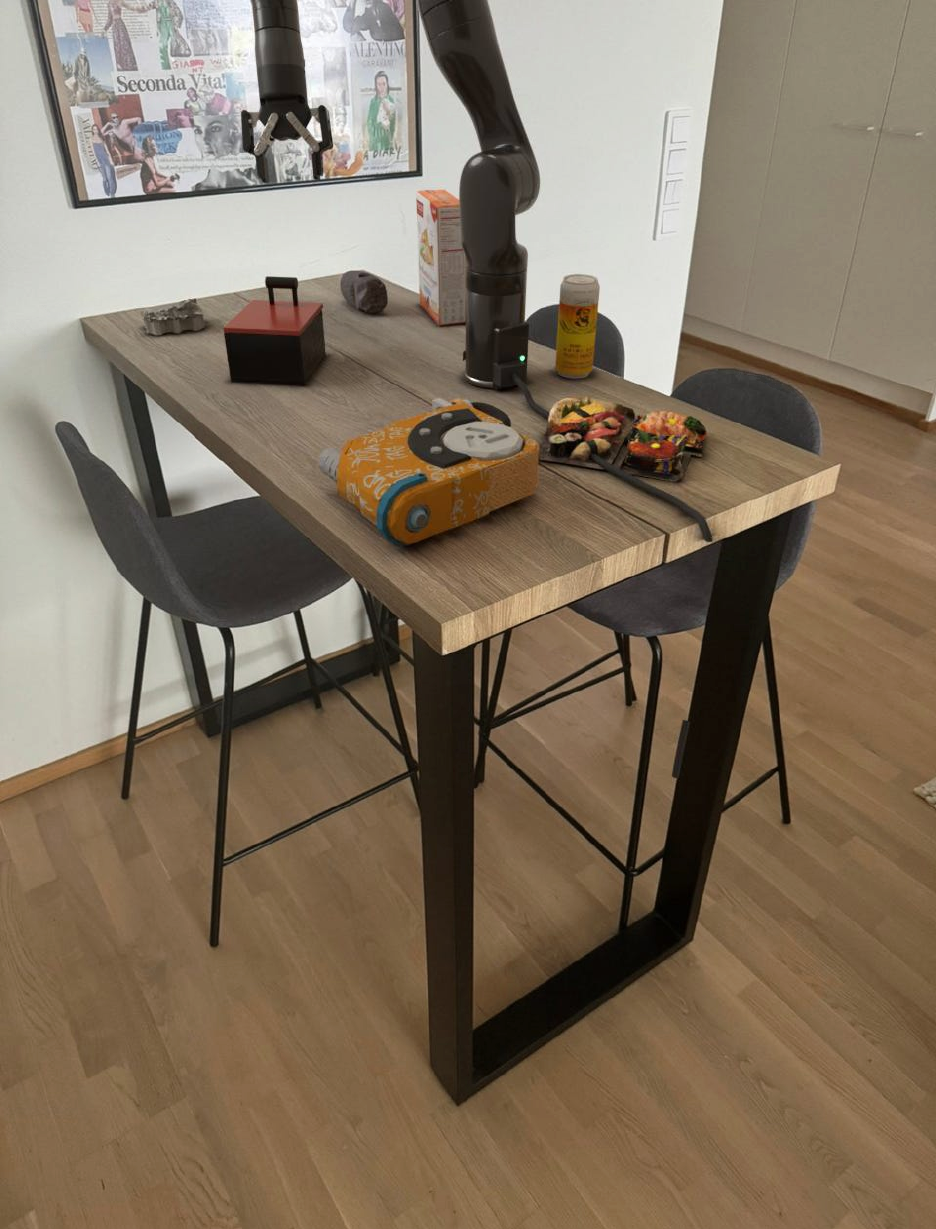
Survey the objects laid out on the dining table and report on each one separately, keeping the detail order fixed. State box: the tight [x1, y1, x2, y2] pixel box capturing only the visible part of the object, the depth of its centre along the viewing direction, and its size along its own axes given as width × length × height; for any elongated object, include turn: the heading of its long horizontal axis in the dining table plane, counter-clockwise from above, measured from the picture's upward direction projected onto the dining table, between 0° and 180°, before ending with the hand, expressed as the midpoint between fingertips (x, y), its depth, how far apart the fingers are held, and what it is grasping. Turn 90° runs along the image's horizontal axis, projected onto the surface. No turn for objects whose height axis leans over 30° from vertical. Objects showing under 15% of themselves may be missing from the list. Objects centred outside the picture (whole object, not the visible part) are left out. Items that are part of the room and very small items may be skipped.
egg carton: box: [140, 297, 206, 336], centre depth 163 cm, size 11×8×4 cm
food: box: [538, 395, 707, 483], centre depth 123 cm, size 22×19×4 cm
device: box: [317, 397, 540, 547], centre depth 111 cm, size 23×8×30 cm
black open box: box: [223, 308, 327, 386], centre depth 145 cm, size 14×12×8 cm
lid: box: [222, 275, 324, 336], centre depth 142 cm, size 15×12×5 cm
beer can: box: [554, 273, 601, 379], centre depth 142 cm, size 6×6×15 cm
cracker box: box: [415, 189, 466, 327], centre depth 166 cm, size 14×6×21 cm, turn 17°
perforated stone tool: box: [340, 270, 389, 314], centre depth 173 cm, size 15×5×7 cm, turn 31°
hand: (291, 181), depth 145 cm, fingers open, 8 cm apart
